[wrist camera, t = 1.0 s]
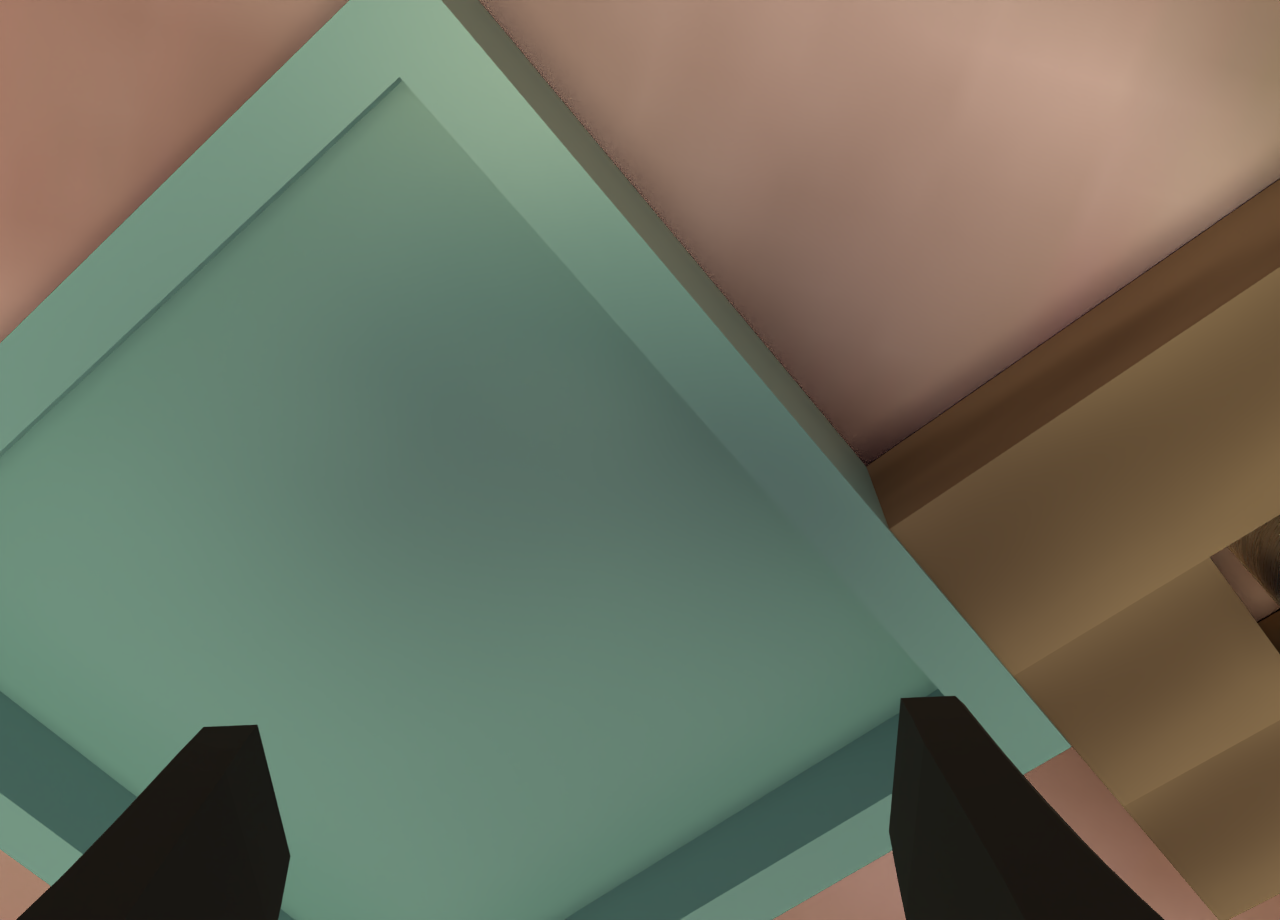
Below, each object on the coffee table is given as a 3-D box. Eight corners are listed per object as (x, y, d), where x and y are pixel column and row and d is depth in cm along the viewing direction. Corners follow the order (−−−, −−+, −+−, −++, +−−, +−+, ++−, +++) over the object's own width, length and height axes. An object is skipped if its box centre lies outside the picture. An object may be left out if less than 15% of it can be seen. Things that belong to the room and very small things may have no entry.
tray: (1031, 665, 25) (1071, 746, 22) (417, 1038, 30) (397, 1136, 27) (432, -56, 19) (399, -50, 16) (-203, 562, 24) (-298, 634, 22)
